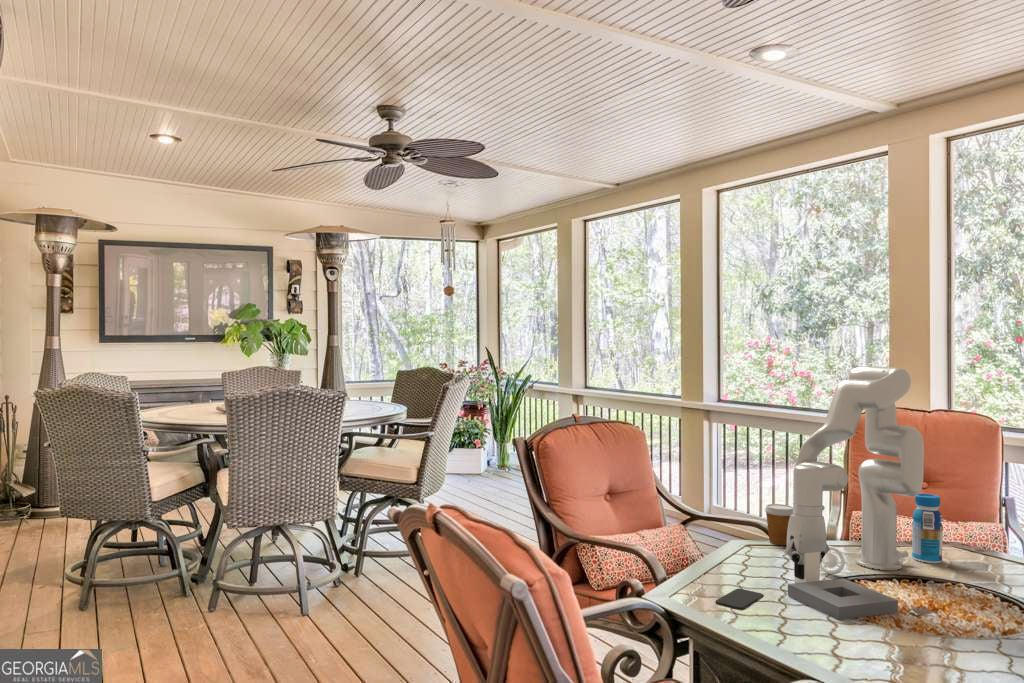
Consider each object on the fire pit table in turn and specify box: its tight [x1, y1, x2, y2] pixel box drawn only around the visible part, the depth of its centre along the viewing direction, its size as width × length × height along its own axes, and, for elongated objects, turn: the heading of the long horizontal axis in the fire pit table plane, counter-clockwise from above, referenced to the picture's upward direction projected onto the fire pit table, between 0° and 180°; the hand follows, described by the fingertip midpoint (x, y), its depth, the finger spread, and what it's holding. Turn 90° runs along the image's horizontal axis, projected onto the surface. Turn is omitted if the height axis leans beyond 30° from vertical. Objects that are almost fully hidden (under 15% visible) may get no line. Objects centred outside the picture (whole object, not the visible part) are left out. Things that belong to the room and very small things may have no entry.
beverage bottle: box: [911, 493, 944, 564], centre depth 228 cm, size 8×8×20 cm
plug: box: [793, 552, 821, 583], centre depth 203 cm, size 4×4×10 cm
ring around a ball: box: [820, 545, 846, 575], centre depth 212 cm, size 8×6×8 cm
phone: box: [715, 588, 764, 611], centre depth 189 cm, size 7×1×15 cm
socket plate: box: [787, 578, 899, 621], centre depth 187 cm, size 18×18×3 cm
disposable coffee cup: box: [764, 503, 793, 546], centre depth 247 cm, size 10×10×12 cm
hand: (806, 576), depth 203 cm, fingers closed on plug, 4 cm apart
